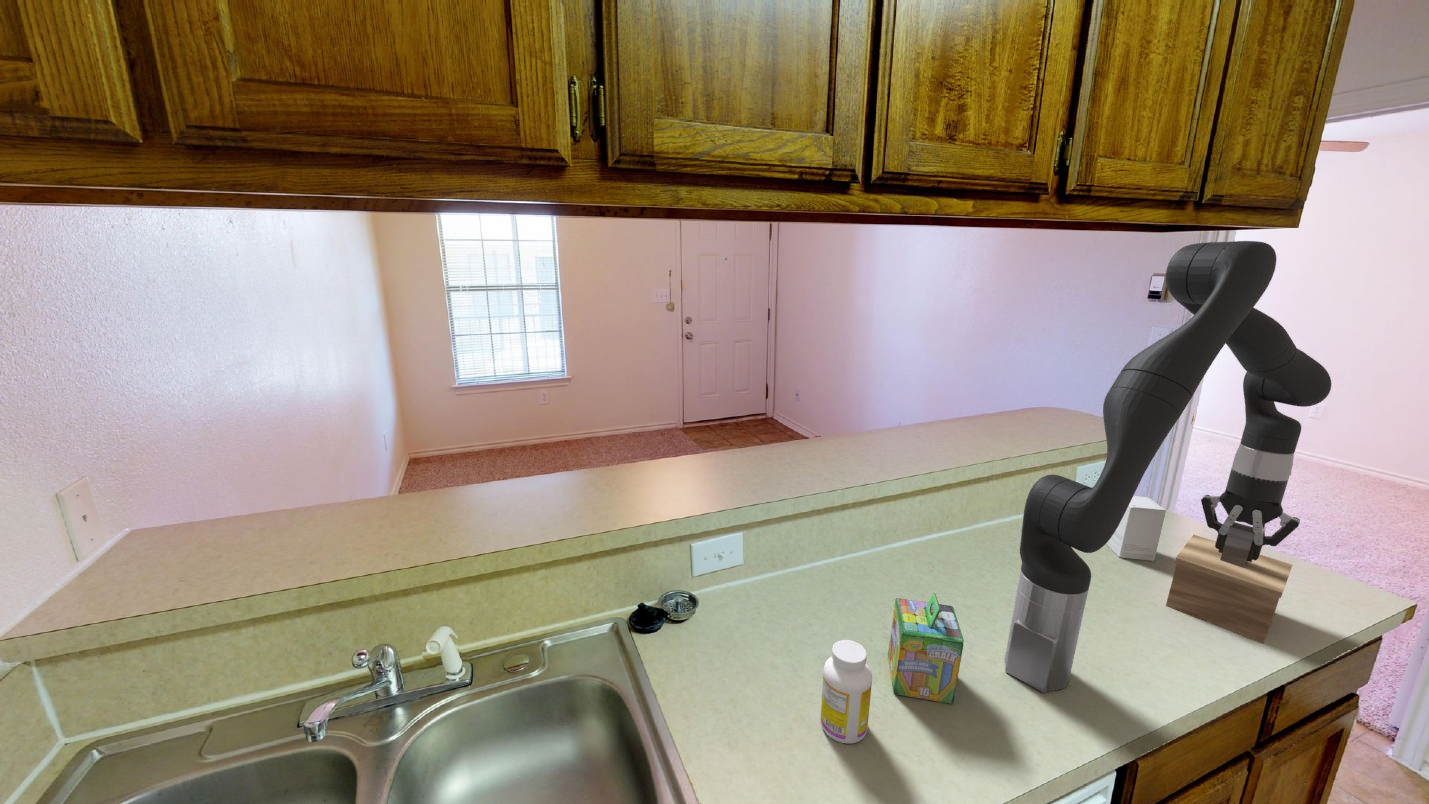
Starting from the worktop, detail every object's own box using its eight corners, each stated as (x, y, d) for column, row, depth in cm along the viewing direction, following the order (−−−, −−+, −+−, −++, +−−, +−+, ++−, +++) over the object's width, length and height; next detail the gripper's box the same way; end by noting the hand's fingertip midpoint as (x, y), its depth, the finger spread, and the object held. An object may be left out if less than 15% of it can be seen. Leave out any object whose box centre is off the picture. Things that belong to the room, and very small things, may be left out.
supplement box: (1155, 561, 124) (1167, 510, 121) (1118, 557, 126) (1129, 507, 122) (1137, 545, 131) (1149, 496, 128) (1103, 542, 133) (1113, 493, 129)
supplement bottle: (859, 707, 83) (866, 634, 80) (873, 745, 76) (881, 667, 73) (815, 708, 83) (820, 635, 79) (825, 746, 76) (831, 668, 73)
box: (1263, 643, 98) (1278, 596, 96) (1165, 605, 108) (1177, 562, 106) (1274, 612, 107) (1288, 569, 104) (1183, 580, 117) (1193, 539, 115)
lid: (1280, 598, 95) (1294, 556, 93) (1174, 562, 106) (1184, 524, 104) (1291, 569, 104) (1303, 530, 102) (1192, 538, 115) (1201, 503, 113)
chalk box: (887, 655, 94) (895, 578, 90) (944, 664, 92) (955, 586, 88) (891, 696, 85) (901, 612, 81) (955, 707, 83) (968, 622, 79)
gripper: (1204, 464, 103) (1183, 547, 107) (1314, 489, 93) (1285, 579, 97) (1213, 455, 108) (1192, 535, 112) (1318, 478, 97) (1290, 565, 102)
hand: (1235, 555), depth 105 cm, fingers closed on lid, 3 cm apart
